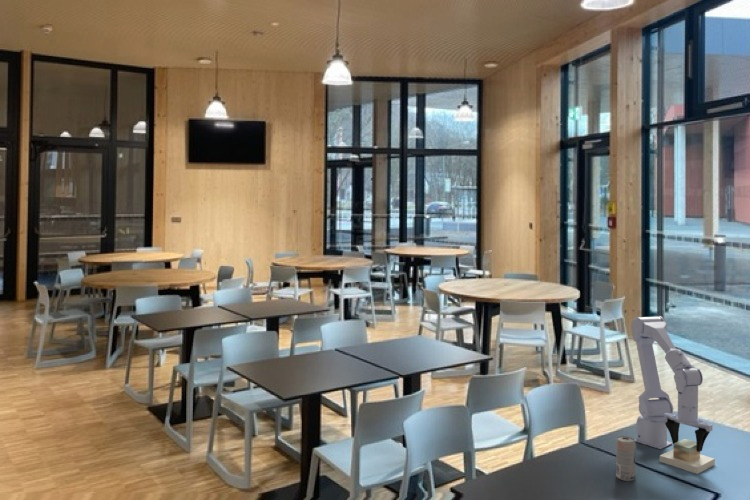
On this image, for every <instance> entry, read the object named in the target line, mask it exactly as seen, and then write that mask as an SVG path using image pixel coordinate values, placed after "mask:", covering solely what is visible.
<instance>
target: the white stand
mask: <svg viewBox="0 0 750 500" xmlns="http://www.w3.org/2000/svg"><path fill="white" fill-rule="evenodd" d="M659 462H660V463H663V464H666V465H669V466H672V467H674V468H678V469H682V470H685V471H687V472H689V473H694V474H697V475H698V474H700V473H702V472H704V471H706V470H708V469H710V468H712V467H714V466H715V465H716V463H715V462H716V460H715V458H713V457H710V456H707V455H704V454H701V453H700V457H699V458H697V459H695V460H693V461H691V462H686V461H683V460H680V459H677V458H674V457H673V449H671V450H668V451H667V452H664V453H662V454H660V455H659Z"/></svg>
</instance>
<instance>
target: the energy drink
mask: <svg viewBox="0 0 750 500" xmlns="http://www.w3.org/2000/svg"><path fill="white" fill-rule="evenodd" d="M635 440H636V439H635V438H633V437H630V436H625V435H621V436H618V437H616V440H615V441H616V442H615V449H616V450H615V453H616V454H615V458H616V459H615V477H616V478H617V479H618V480H620V481H623V482H633V481H634V480H635V479H636V441H635Z"/></svg>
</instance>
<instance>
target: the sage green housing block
mask: <svg viewBox="0 0 750 500" xmlns="http://www.w3.org/2000/svg"><path fill="white" fill-rule="evenodd" d="M696 443H697V441H694V440H691V439H688V438H683V439H681V440H678V442H676V443H674V444H673V443H672V445H673V449H672V450H673V457H674V458H677V459H680V460H683V461H686V462H691V461H693V460H695V459H697V458H699V457H700V454H701V451H700V452H697V450H696Z"/></svg>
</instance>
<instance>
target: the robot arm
mask: <svg viewBox="0 0 750 500" xmlns="http://www.w3.org/2000/svg"><path fill="white" fill-rule="evenodd" d="M667 328H668V327H667V322H666V321H665V319H664V317H662V316H661V315H657V316H641V317H640V316H636V317H634V318H633V319H632V321H631V324H630V329H631V334H632V339H633V342H635V344H636V349H637V354H638V355H637V356H638V360H639V366H640V370H641V377H642V381H643V387H644V391H643V392H642V393H641V394H640V395H639V396H638V411H639V416H638V417H637V418H636V423H635V425H636V427H635V437H636V438H635V439H634V440H635V443H639V444H643V445H645V446H650V447H652V448H655V449H659V450H662V449H665V448H666V447H668V446H670V445H673V444H674V443H676V442H678V441H679V432H680V425H684V426H685V425H686V426H689V427H692V428H696V429H695V430H694V434H695V439H696V441H695V442H697V443H696V450H697V452H700V453H701V452H702V451H703V447H704V444H705V442H706V439H707V437H708V435H710V433H711V432H712V431H713V424H712V423H708V422H706V421H703V420H701V419H699V417H698V415H699V413H698V412H699V409H698V408H699V387H700V386H701V385H702V384H703V379H704V378H703V374H702V372H701V369H700V368H699V367H696V366H694V365H692V364H691V363H690V361H689V360H688V358H687V357H686V355H685V354H684V352H683V350H681V349H678V348H676V347H675V345H674V343H673V341H672V339H671V337H670V335H669V333H668V332H667ZM654 342H656V343H657V344H658V345H659V347H660V348H661V349H662V351H663V352H664V353H665V356H664V359H665V361H666V363H667V364H668V366H669V367H670V369H671V370H672V371H673V374H674V375H673V380H674V383H675V389H676V391H677V414H675V413H674V406H673V403H672V401H671V399H670V394H669V393H667V392H665V391H664V390H663V389H662V388H661V381H660V377H659V371H658V367H657V366H658V365H657V361H656V356H655V355H656V354H655V351H654V347H653V344H654ZM668 432H669V435H670V438H671V441H669V440H668Z"/></svg>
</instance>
